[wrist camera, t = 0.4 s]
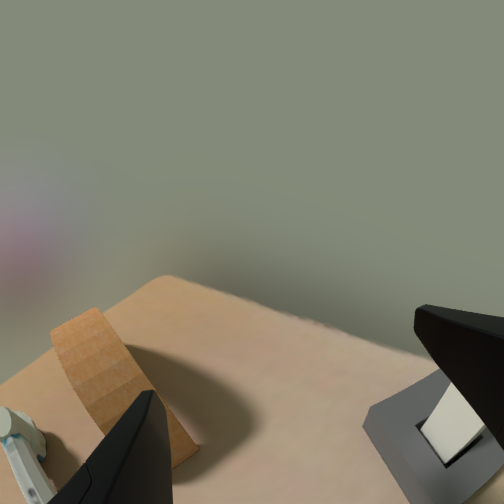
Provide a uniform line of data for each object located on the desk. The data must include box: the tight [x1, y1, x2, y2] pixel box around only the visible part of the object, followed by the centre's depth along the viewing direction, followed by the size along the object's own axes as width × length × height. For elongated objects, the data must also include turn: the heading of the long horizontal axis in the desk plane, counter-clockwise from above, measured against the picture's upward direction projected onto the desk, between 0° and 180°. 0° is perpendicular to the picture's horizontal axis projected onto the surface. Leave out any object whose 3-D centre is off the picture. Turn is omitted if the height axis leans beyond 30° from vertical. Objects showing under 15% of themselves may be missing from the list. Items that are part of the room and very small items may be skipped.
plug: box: [419, 382, 486, 466], centre depth 14 cm, size 4×4×12 cm
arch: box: [50, 307, 199, 469], centre depth 23 cm, size 6×20×10 cm, turn 45°
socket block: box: [362, 369, 504, 504], centre depth 16 cm, size 12×9×4 cm
